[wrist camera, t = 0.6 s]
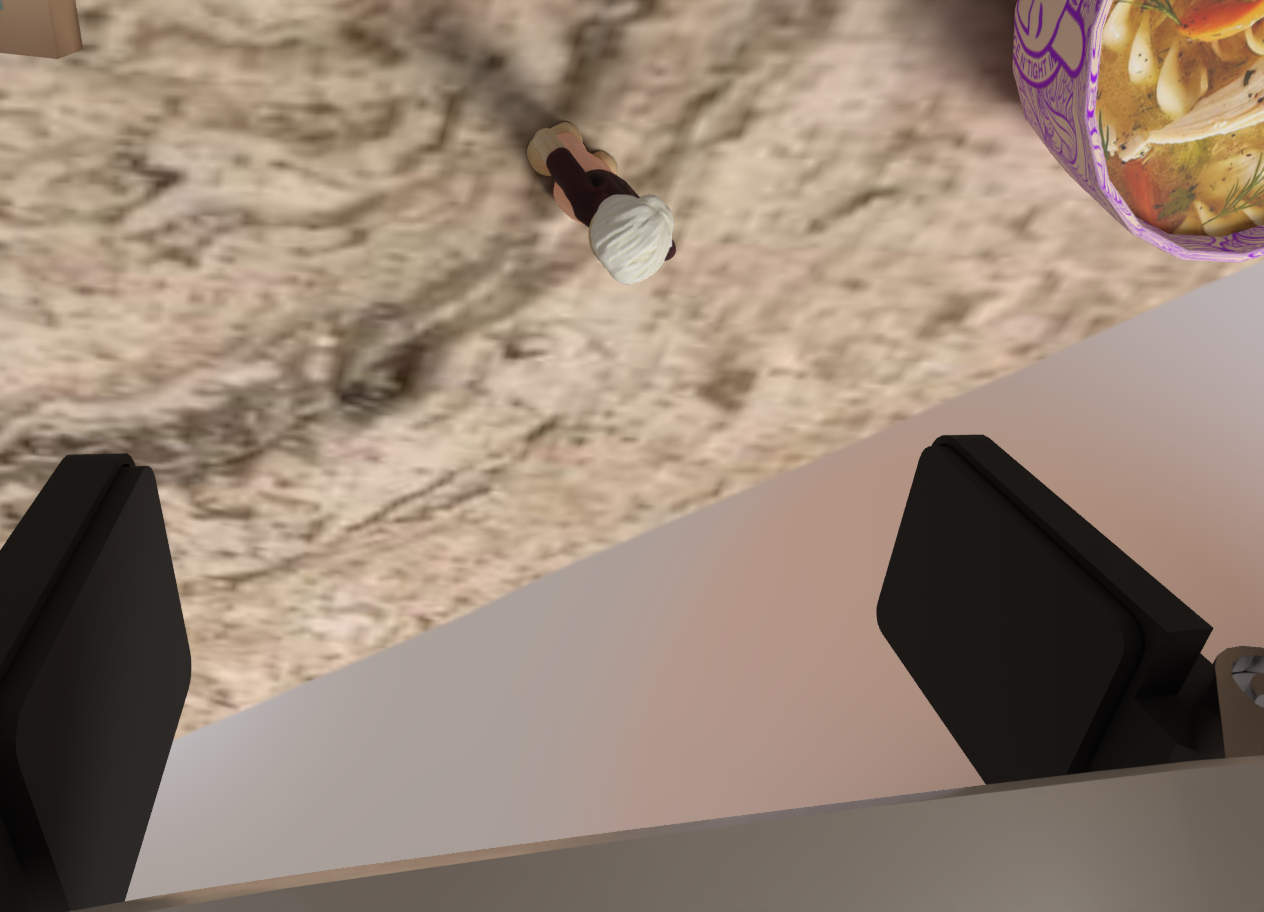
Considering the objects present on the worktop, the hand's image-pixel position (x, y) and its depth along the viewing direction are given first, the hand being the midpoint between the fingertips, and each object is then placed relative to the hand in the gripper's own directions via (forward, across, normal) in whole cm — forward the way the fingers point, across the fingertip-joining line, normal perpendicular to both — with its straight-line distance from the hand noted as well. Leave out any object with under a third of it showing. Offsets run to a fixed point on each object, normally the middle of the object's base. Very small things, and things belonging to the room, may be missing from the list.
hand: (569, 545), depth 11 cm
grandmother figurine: (+34, -6, +2) cm, 35 cm away
